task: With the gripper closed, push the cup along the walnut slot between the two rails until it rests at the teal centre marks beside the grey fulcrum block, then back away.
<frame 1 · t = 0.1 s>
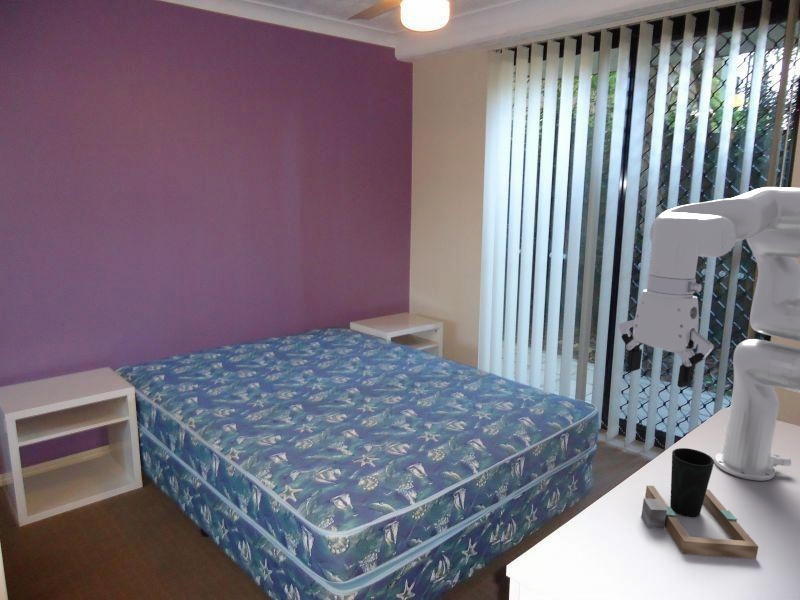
hand: (657, 377, 105), 31 cm above the table, tool pointing down, fingers open, 9 cm apart
cup: (684, 510, 119), on the table
beam slot: (694, 522, 115), on the table
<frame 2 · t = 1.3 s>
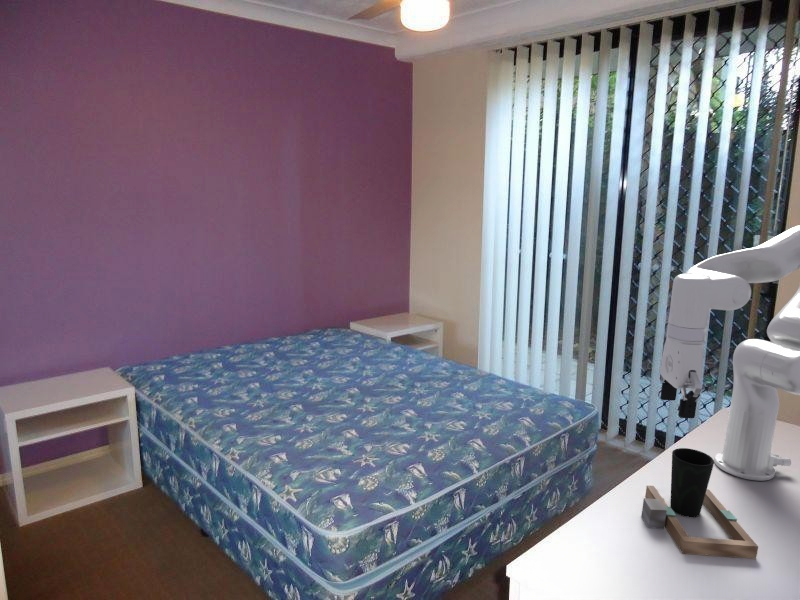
hand: (676, 408, 125), 18 cm above the table, tool pointing down, fingers open, 9 cm apart
nothing on the table moved.
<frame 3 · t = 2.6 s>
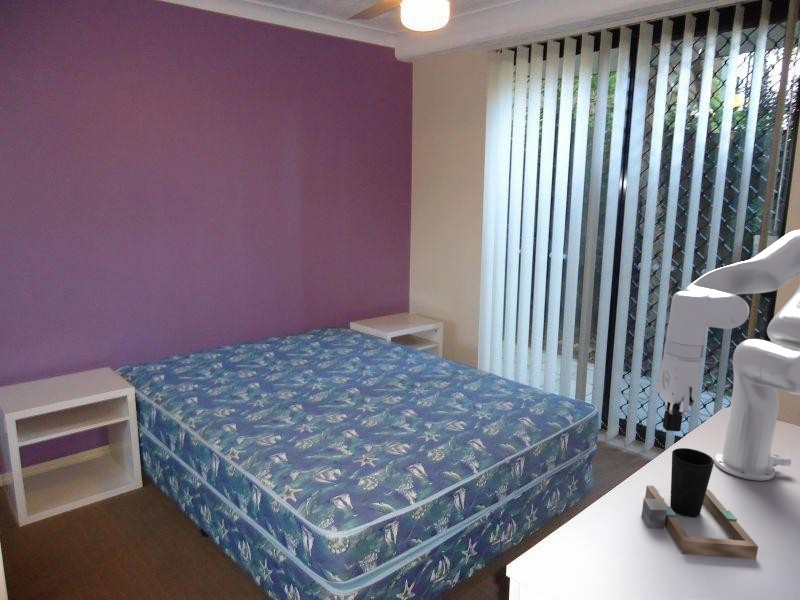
hand: (671, 429, 126), 13 cm above the table, tool pointing down, fingers closed
nothing on the table moved.
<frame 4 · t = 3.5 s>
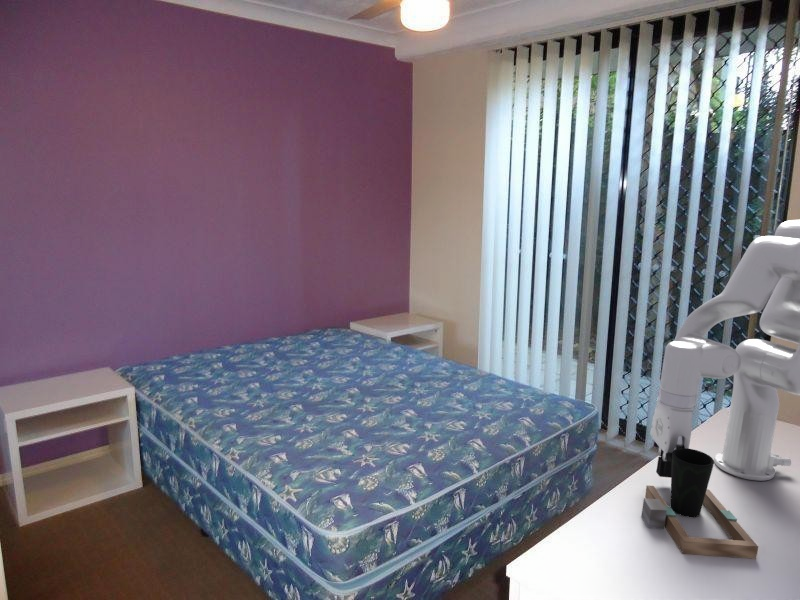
hand: (664, 475, 129), 2 cm above the table, tool pointing down, fingers closed
nothing on the table moved.
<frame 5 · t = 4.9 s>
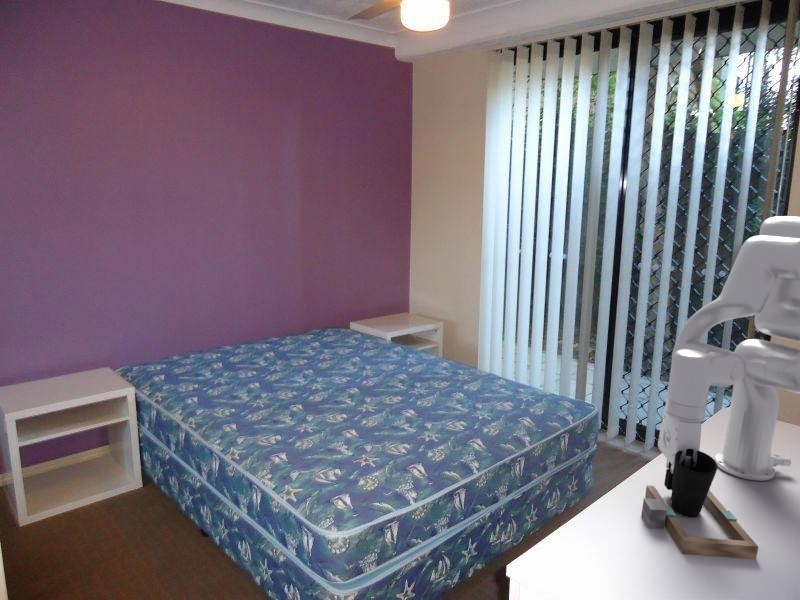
hand: (672, 488, 124), 2 cm above the table, tool pointing down, fingers closed
cup: (685, 508, 119), on the table, touching gripper
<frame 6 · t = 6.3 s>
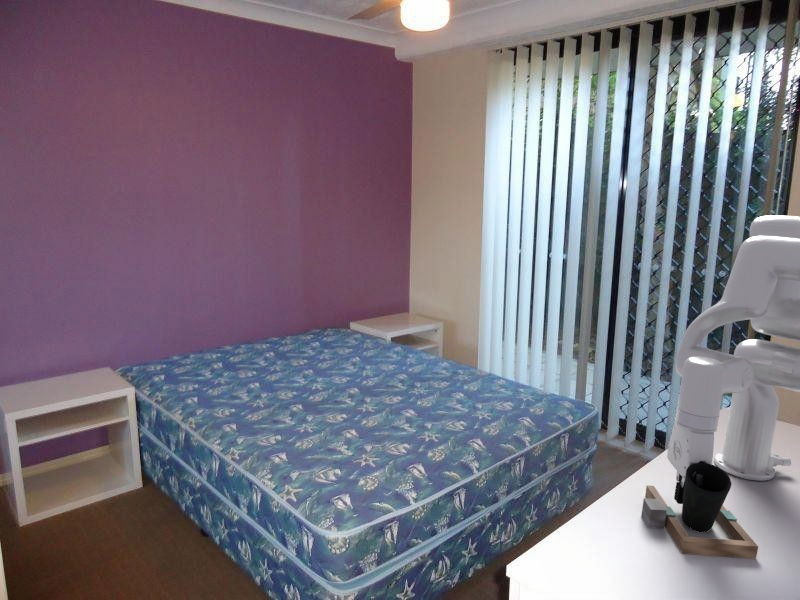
hand: (683, 502, 118), 2 cm above the table, tool pointing down, fingers closed
cup: (696, 521, 114), point 1 cm above the table, touching gripper
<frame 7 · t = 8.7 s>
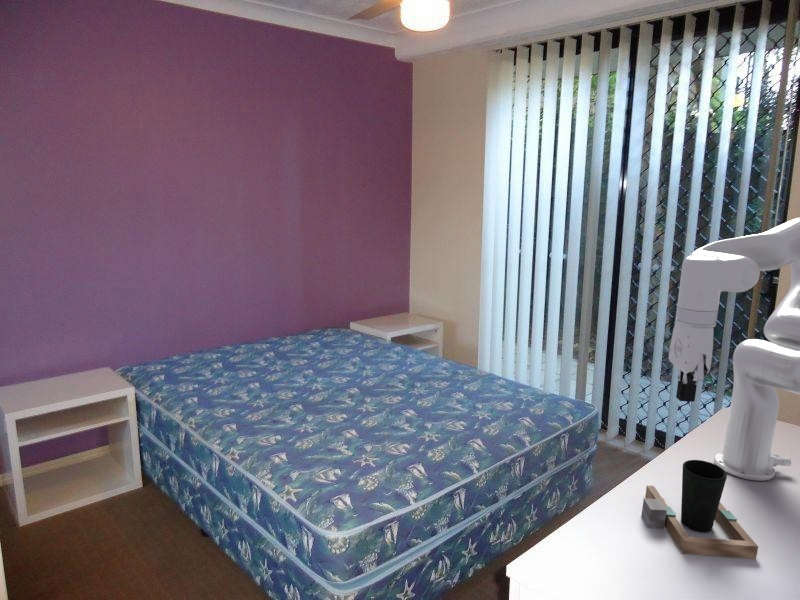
hand: (685, 399, 122), 21 cm above the table, tool pointing down, fingers closed
cup: (696, 525, 114), on the table
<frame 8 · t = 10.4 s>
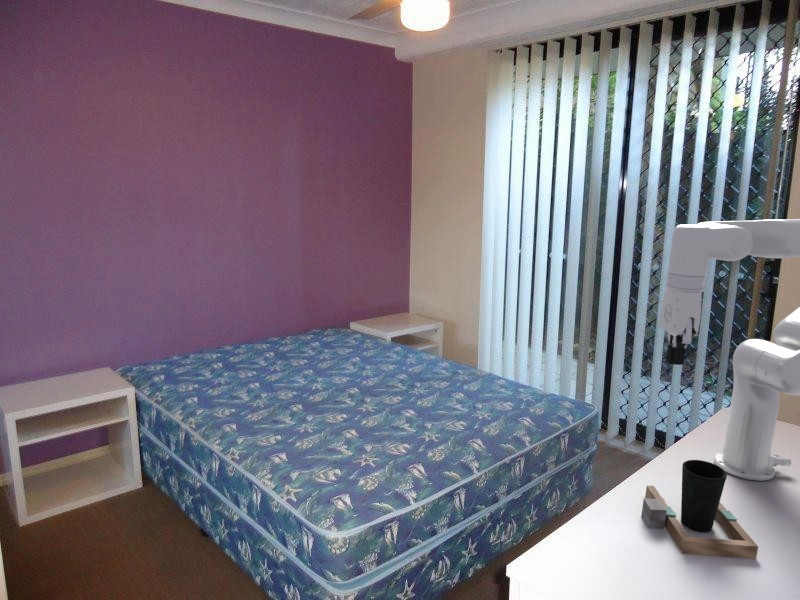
hand: (674, 363, 127), 27 cm above the table, tool pointing down, fingers closed
nothing on the table moved.
at the end: cup inside the target area (0.3 cm from its centre), on the table; cup tilted 1° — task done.
